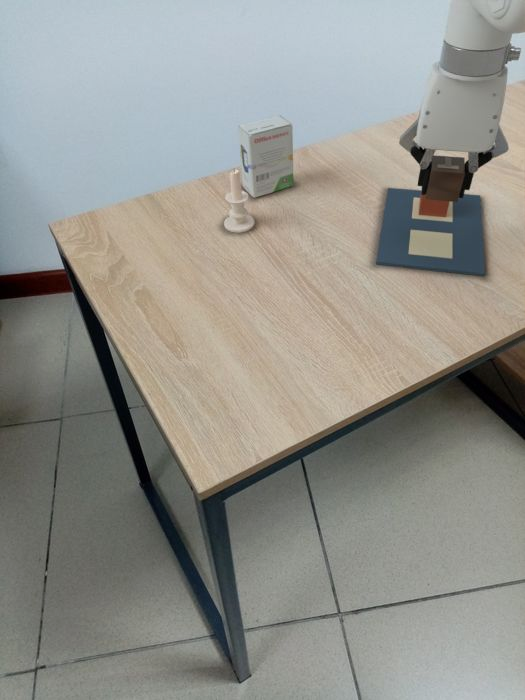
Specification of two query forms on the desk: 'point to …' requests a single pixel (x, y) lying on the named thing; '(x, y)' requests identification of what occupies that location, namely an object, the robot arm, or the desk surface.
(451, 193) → the wooden letter block
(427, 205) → the rust brown block
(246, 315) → the desk surface
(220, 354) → the desk surface
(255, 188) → the ink box
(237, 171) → the candle
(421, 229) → the mat
